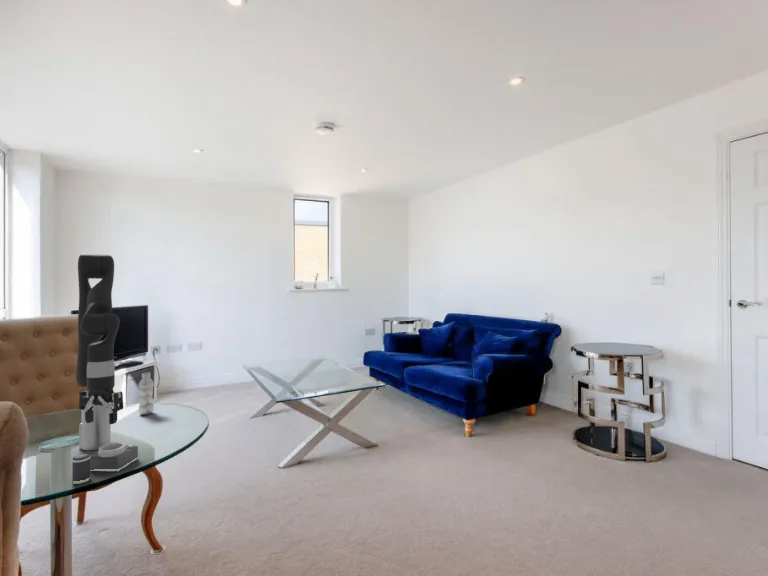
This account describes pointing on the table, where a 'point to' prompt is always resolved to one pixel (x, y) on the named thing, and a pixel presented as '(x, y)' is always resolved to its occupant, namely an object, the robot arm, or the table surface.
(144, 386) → the plastic bottle
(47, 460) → the table surface
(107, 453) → the camera body
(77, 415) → the table surface
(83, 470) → the lens
